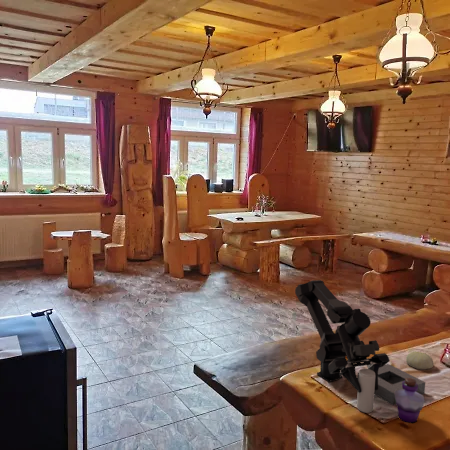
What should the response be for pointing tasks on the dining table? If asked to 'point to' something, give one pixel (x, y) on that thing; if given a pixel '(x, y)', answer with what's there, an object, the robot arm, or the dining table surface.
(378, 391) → the block
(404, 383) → the potion bottle
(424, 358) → the sea urchin shell
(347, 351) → the robot arm
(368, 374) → the beverage can
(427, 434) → the dining table surface
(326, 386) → the dining table surface
